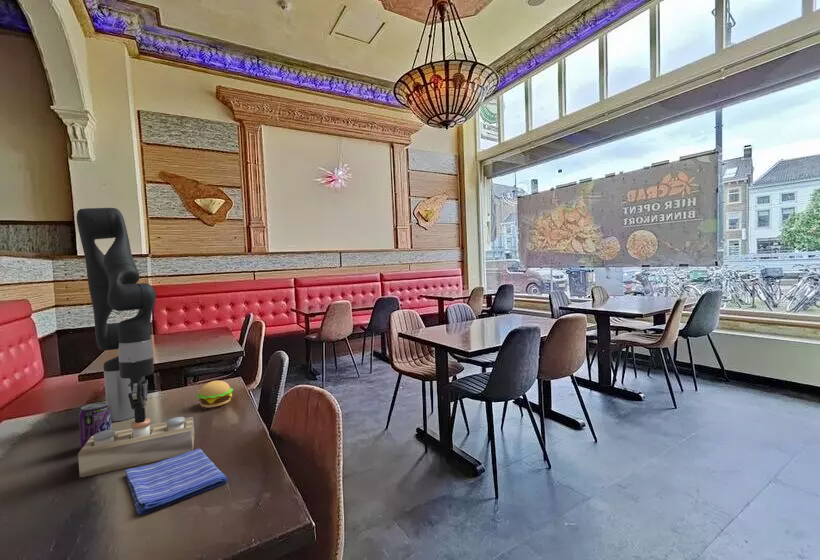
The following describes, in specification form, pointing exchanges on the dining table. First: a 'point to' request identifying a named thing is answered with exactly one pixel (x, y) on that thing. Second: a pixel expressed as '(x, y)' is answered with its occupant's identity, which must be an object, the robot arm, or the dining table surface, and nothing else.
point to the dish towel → (172, 480)
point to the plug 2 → (175, 423)
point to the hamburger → (215, 394)
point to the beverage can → (94, 420)
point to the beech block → (135, 448)
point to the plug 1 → (104, 437)
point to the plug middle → (141, 428)
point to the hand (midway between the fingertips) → (140, 421)
